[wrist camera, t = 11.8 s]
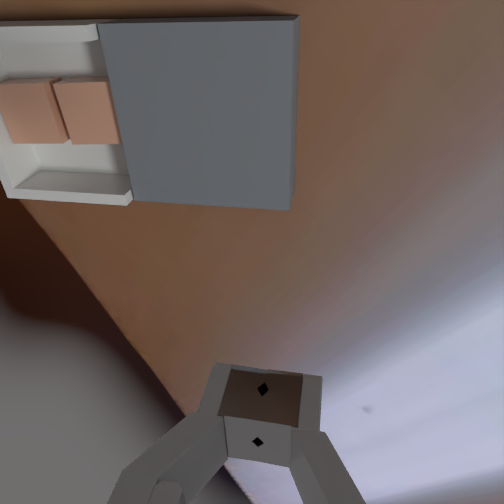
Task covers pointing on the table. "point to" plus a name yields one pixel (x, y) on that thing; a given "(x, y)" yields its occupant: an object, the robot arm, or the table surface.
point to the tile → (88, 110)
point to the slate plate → (206, 107)
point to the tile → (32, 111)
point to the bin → (67, 155)
